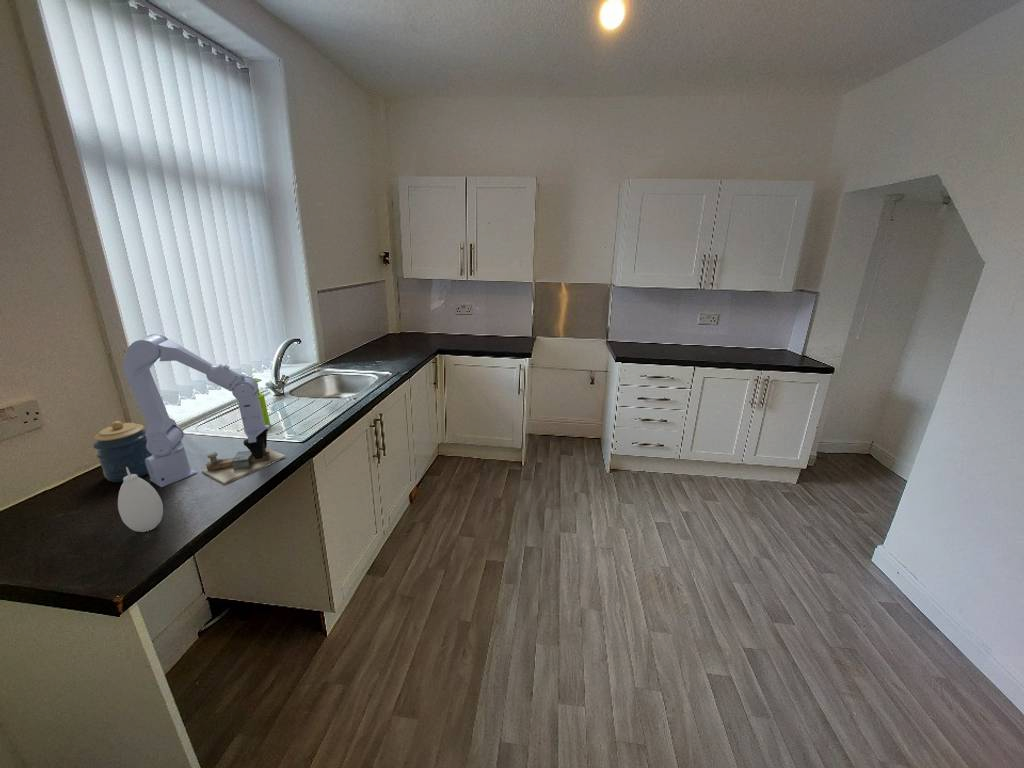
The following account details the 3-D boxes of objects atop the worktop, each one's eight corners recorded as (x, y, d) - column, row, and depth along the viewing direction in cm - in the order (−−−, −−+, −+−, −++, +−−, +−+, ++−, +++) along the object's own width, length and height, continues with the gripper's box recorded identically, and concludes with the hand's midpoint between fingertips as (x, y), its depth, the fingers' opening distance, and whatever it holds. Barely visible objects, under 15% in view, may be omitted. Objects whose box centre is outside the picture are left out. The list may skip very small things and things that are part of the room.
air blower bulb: (127, 529, 102) (103, 466, 96) (166, 515, 107) (146, 455, 101) (129, 544, 97) (104, 479, 91) (170, 529, 102) (149, 466, 96)
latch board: (224, 484, 121) (223, 482, 121) (202, 472, 128) (201, 470, 128) (285, 457, 136) (285, 455, 136) (263, 447, 143) (262, 445, 143)
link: (205, 471, 126) (201, 456, 124) (209, 465, 130) (205, 450, 128) (268, 460, 132) (265, 445, 131) (270, 454, 136) (266, 440, 134)
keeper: (250, 470, 129) (247, 459, 127) (234, 472, 127) (231, 461, 126) (256, 460, 135) (253, 449, 133) (240, 462, 133) (238, 451, 132)
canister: (128, 485, 121) (108, 432, 116) (94, 481, 124) (73, 428, 118) (170, 463, 133) (154, 414, 128) (139, 460, 136) (122, 411, 130)
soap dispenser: (264, 430, 157) (253, 381, 151) (249, 429, 158) (238, 380, 152) (276, 424, 162) (265, 377, 156) (261, 422, 164) (250, 376, 157)
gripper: (262, 421, 123) (272, 460, 128) (269, 405, 136) (277, 441, 141) (236, 425, 121) (246, 465, 125) (245, 408, 134) (254, 445, 138)
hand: (261, 453), depth 133 cm, fingers open, 7 cm apart
